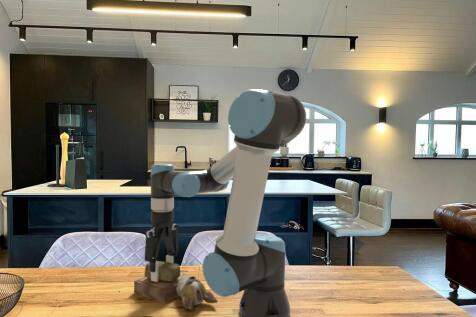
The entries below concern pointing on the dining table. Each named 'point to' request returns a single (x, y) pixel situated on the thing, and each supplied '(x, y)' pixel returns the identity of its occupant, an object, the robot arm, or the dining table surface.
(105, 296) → the dining table surface
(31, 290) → the dining table surface
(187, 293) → the ceramic sculpture
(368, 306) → the dining table surface
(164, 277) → the stone block
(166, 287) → the walnut box
